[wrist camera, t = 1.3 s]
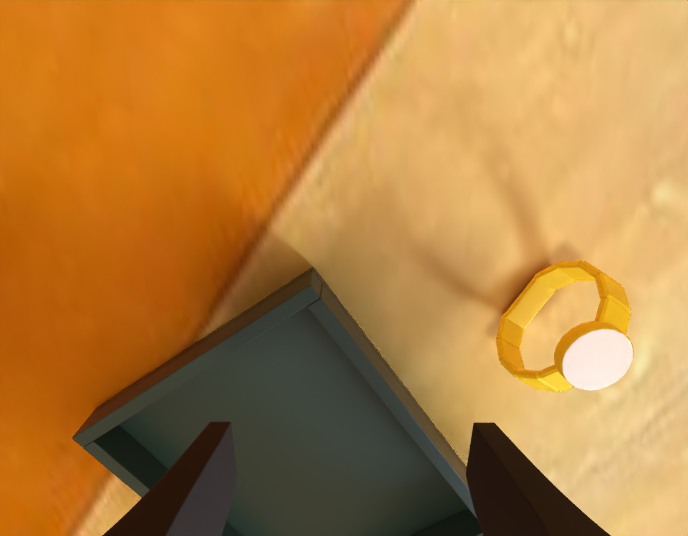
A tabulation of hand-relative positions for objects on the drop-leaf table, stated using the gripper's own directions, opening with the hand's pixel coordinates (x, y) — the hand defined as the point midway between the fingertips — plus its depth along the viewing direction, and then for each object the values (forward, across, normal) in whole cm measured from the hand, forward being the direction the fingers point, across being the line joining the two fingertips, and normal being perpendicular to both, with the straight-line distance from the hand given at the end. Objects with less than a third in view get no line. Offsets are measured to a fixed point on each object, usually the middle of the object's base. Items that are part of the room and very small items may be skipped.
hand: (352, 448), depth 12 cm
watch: (+10, -9, 0) cm, 14 cm away
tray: (+10, +2, +10) cm, 15 cm away
